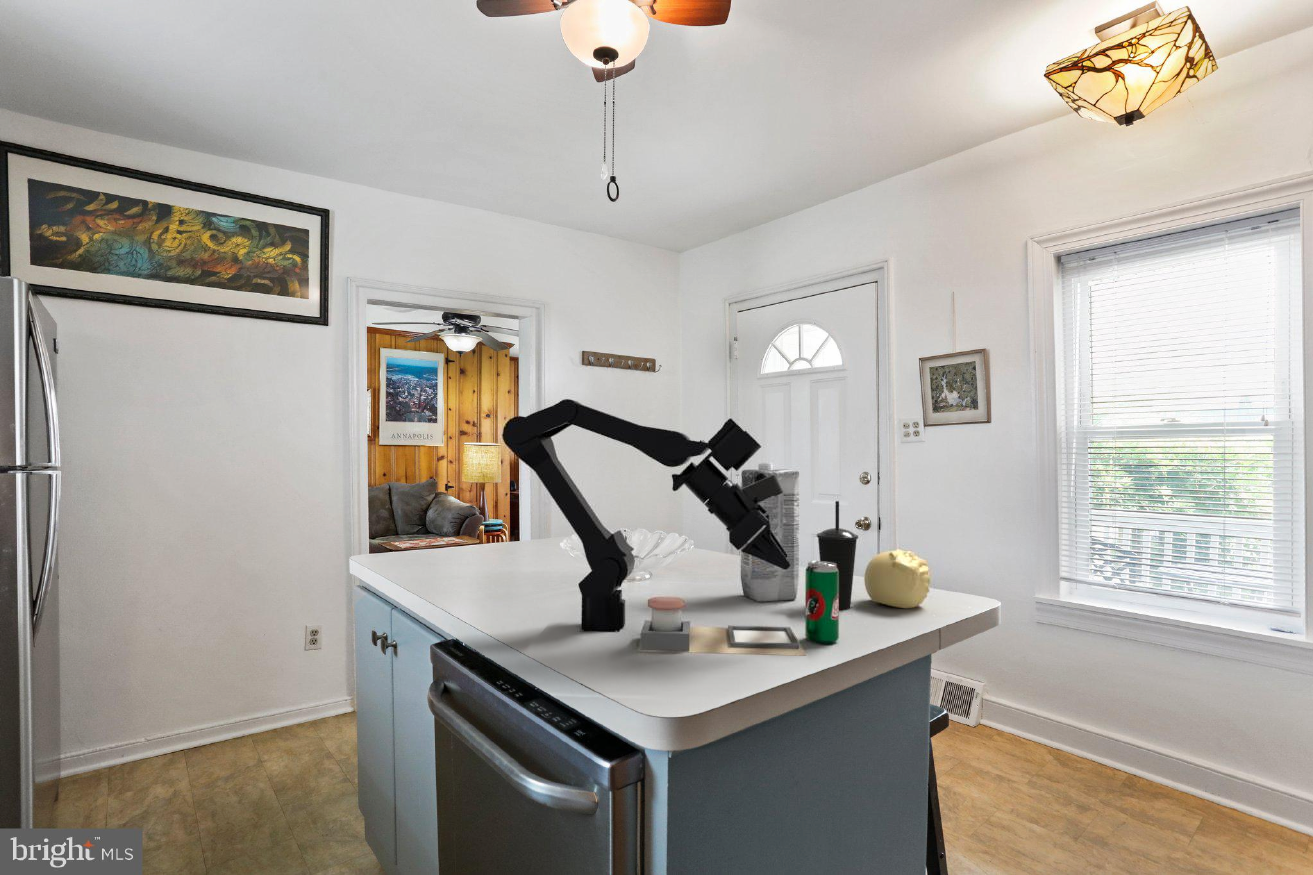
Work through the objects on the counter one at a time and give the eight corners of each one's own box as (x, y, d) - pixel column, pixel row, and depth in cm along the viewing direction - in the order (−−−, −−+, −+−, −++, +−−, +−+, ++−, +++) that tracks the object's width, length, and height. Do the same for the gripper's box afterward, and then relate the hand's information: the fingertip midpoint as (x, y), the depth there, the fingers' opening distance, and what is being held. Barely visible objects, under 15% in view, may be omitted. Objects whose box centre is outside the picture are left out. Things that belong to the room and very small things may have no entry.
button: (646, 634, 97) (646, 604, 97) (649, 624, 102) (649, 596, 103) (684, 635, 96) (684, 605, 97) (685, 625, 102) (685, 596, 102)
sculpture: (923, 615, 121) (923, 555, 121) (857, 606, 127) (857, 549, 127) (936, 603, 130) (936, 548, 130) (873, 595, 137) (873, 543, 137)
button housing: (640, 650, 96) (640, 632, 96) (644, 636, 103) (644, 620, 103) (689, 651, 96) (689, 633, 96) (689, 637, 103) (690, 621, 103)
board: (636, 655, 96) (636, 646, 96) (644, 629, 110) (644, 621, 110) (806, 659, 94) (806, 651, 94) (792, 632, 108) (792, 625, 108)
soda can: (839, 646, 101) (840, 566, 101) (805, 643, 102) (805, 565, 102) (837, 637, 106) (837, 561, 106) (805, 635, 107) (805, 559, 107)
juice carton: (803, 600, 131) (804, 463, 132) (754, 603, 128) (755, 463, 129) (782, 591, 140) (783, 462, 140) (736, 594, 137) (737, 462, 137)
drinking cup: (843, 613, 121) (843, 503, 121) (808, 606, 127) (808, 500, 127) (866, 607, 126) (866, 501, 126) (831, 600, 132) (831, 499, 132)
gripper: (752, 456, 97) (830, 534, 95) (752, 455, 115) (818, 520, 113) (697, 510, 98) (774, 588, 96) (707, 500, 116) (771, 566, 114)
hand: (786, 562), depth 105 cm, fingers open, 9 cm apart
